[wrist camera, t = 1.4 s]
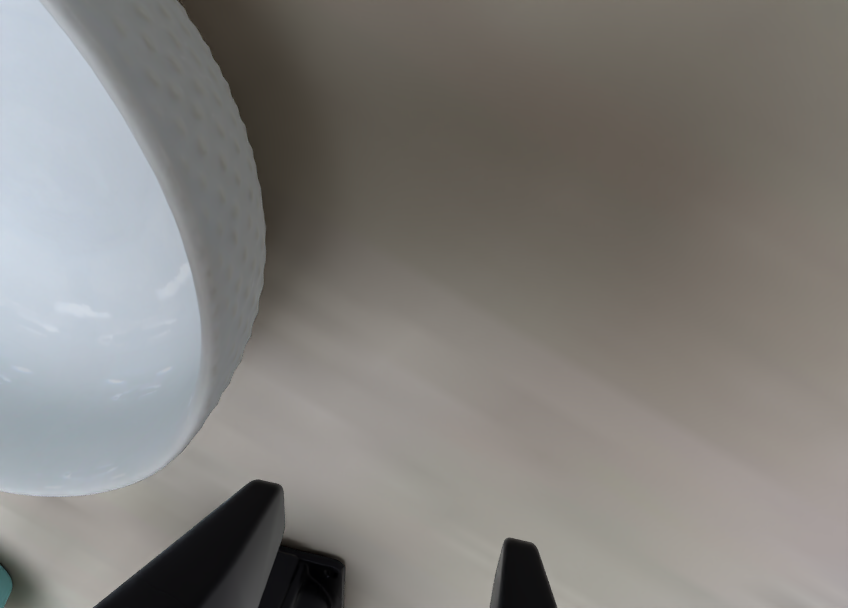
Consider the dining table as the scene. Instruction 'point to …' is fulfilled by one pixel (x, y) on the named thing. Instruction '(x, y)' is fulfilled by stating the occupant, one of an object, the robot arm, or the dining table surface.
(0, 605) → the cupcake
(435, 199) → the dining table surface
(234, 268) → the cereal bowl
